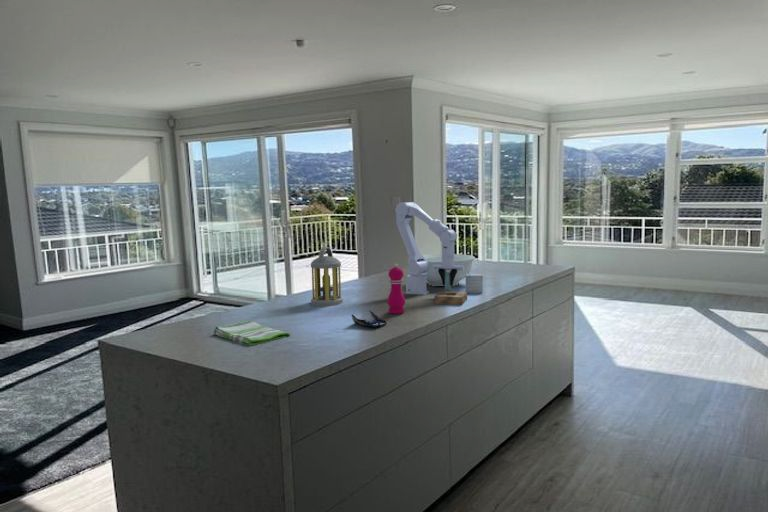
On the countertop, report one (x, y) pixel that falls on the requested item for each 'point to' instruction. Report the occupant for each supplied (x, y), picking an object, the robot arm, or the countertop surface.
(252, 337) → the dish towel
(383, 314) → the countertop surface
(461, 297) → the socket block
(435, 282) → the bowl
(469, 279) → the medicine box
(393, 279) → the pepper mill
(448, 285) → the peg
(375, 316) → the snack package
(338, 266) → the lantern
